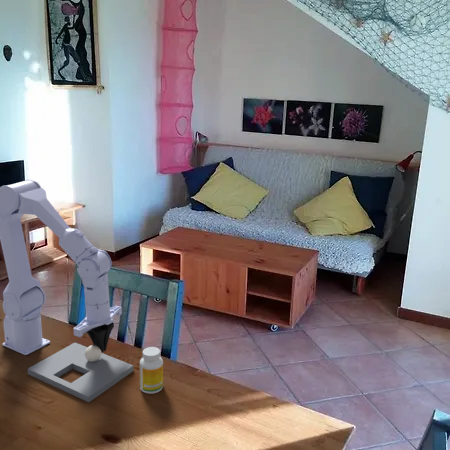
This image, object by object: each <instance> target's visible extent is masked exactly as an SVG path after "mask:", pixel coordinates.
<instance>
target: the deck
mask: <svg viewBox="0 0 450 450" xmlns="http://www.w3.org/2000/svg"><path fill="white" fill-rule="evenodd" d="M88 347H89V346H88ZM88 347H87V346H85V345H83V344H80V343H78V342H73V343H71V344H70V345H68V346H65V347H64V348H62V349H60V350H59V351H57V352H56V353H52V355H50V356H48V357H46V358H44V359H43V360H41V361H39V362H37V363H35V364H34V365H31V366H30V367H28V368H27V375H29V376H31V377H33V378H35V379H37V380H40V381H42V382H44V383H46V384H48V385H51V386H53V387H54V388H56V389H59V390H61V391H63V392H66V393H67V394H70V395H72V396H74V397H75V398H78V399H80V400H82V401H85V402H87V403H90V402H92V401H93V400H95V399H96V398H97V397H98V396H101V395H102V394H103V393H105V392H106V391H107V390H109V389H110V388H112V387H113V386H114V385H115V384H117V383H120V381H121V380H123V379H124V378H126V377H127V376H128V375H130V374H131V373H133V372H134V365H133V364H131V363H129V362H126V361H123V360H121V359H118V358H115V357H113V356H110V355H108V354H105V353H104V352H102V353H101V357H100V358H99V360H97V361H95V362H90V361H88V360H87V359H86V357H85V351H86V349H87V348H88ZM72 370H74V371H76V372H79V373H81V374H83V375H82V376H80V377H78V378H77V379H75V380H73V381H72V382H70V381H68V380H65V379H63V378H61V377H62V376H63V375H65V374H66V373H68V372H70V371H72Z"/></svg>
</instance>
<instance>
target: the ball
mask: <svg viewBox="0 0 450 450" xmlns="http://www.w3.org/2000/svg"><path fill="white" fill-rule="evenodd" d="M85 357H86V359H87V360H88V361H90V362H95V361H97V360H99V358H100V357H101V349H100V348H99V347H98V346H96V345H94V344H93V345H89V346H88V348H87V349H86V351H85Z"/></svg>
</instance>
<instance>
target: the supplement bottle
mask: <svg viewBox="0 0 450 450" xmlns="http://www.w3.org/2000/svg"><path fill="white" fill-rule="evenodd" d="M163 387H164V360H163V358H162V357H161V350H160V348H159V347H155V346H148V347H146V348H144V349H143V350H142V357H141V358H140V360H139V388H140V390H141V392H143V393H144V394H148V395H149V394H156V393H160V391H161V390H162V389H163Z"/></svg>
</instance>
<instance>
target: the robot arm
mask: <svg viewBox="0 0 450 450" xmlns="http://www.w3.org/2000/svg"><path fill="white" fill-rule="evenodd" d="M23 215H32V216H36V217H37V218H38V219H39V220H40V221H41V222H42V224H44V225H45V226H46V227H47V228H48V229H49V230H51V232H52V233H53V234H55V235H56V236H57V237H58V246H59V247H60V248H61V249H62V250H63V251H64V252H65V254H67V255H68V257H70V259H71V260H72V261H73V262H74V263H75V265H77V268H76V270H77V274H78V276H79V277H80V278H81V283H82V285H83V291H84V303H85V314H86V315H85V318H84V319H83V320H82V321H80V323H78V324H77V325H76V326H75V327H73V336H75V337H78V338H81V337H83V334H85V333H86V334H87V335H88V336H89V338H90V340H91V342H92V344H93V345H96V346H98V347H99V348H100V349H101V353H104V352H106V351H107V349H108V348H107V347H108V342H109V338H110V335H111V333H112V331H113V329H114V327H115V322H114V320H113V319H114V318H115V317H117V316H121V315H122V314H123V308H122V306H119V305H114V306H112V307H111V303H110V291H109V273H108V272H109V270H111V268H112V265H113V262H112V259H111V257H110V255H109V253H108V252H107V251H106V250H104V249H99V248H98V247H96V246H95V245H93V244H92V243H91V242H90V241H89V239H88V238H87V236H85V233H84V232H83V231H82V230H79V229H78V228H74V227H73V228H72V227H70V226H69V224H68V223H67V222H66V220H65V219H64V218H63V216H61V215H60V213H59V212H58V211H57V210H56V209H55V207H54V206H53V205H52V203H51V202H50V201H49V200H48V198H47V192H46V190H45V189H44V188H43V187H42V186H41V185H40V183H39V182H38V181H36V180H35V179H32V178H28V179H26V180H23V181H19V182H16V183H12V184H7V185H2V186H0V245H1V250H2V254H3V258H4V262H5V263H4V264H5V268H6V272H7V277H8V284H7V285H6V287H5V288H4V290H3V292H2V296H3V302H2V310H3V312H4V314H5V316H4V319H3V332H4V340H5V341H4V342H3V343H2V346H3V347H6V348H8V349H10V350H12V351H15V352H17V353H20V354H21V355H24V356H27V355H29V354H32V353H33V352H35V351H37V350H39V349H41V348H43V347H45V346H47V345H48V344H49V345H50V343H51V340H49V339H46V338H44V337H43V330H42V329H43V326H42V313H41V312H42V311H43V307H42V306H44V305H45V303H46V301H47V297H46V296H47V295H46V293H45V290H43V287H42V286H41V281H40V280H39V279H36V278H35V277H33V275H32V271H31V265H30V260H29V255H28V251H27V245H26V241H25V236H24V232H23V231H24V230H23V226H22V221H21V218H22V217H23Z"/></svg>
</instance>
